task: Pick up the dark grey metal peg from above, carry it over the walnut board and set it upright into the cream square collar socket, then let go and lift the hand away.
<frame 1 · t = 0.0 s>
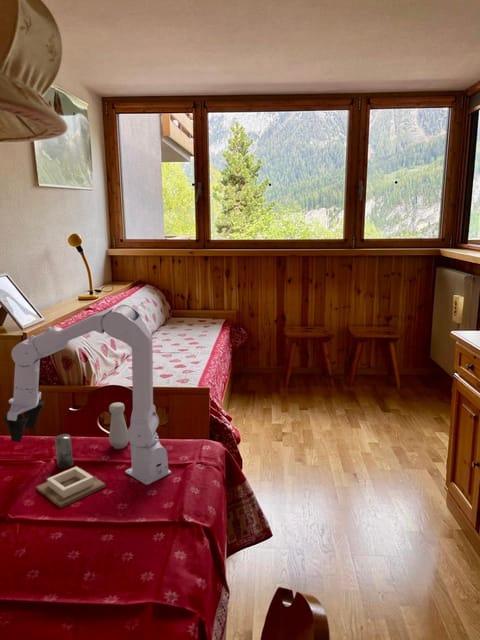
hand: (23, 434, 130), 11 cm above the table, tool pointing down, fingers open, 7 cm apart
peg: (65, 464, 136), on the table
salt shaker: (119, 446, 146), on the table
socket board: (71, 488, 124), on the table
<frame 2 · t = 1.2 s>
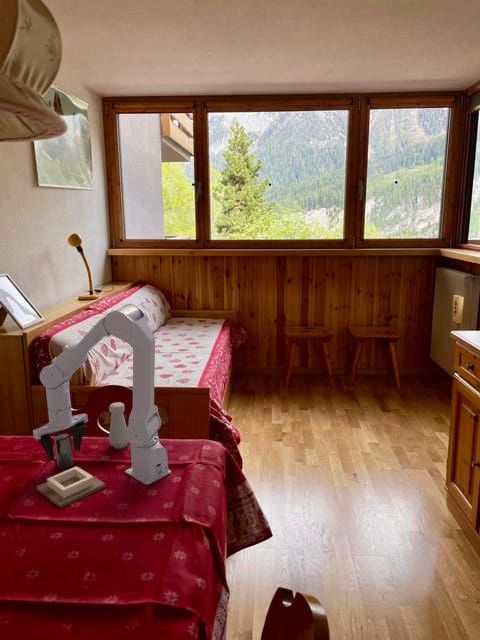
hand: (64, 454, 135), 3 cm above the table, tool pointing down, fingers open, 7 cm apart
nothing on the table moved.
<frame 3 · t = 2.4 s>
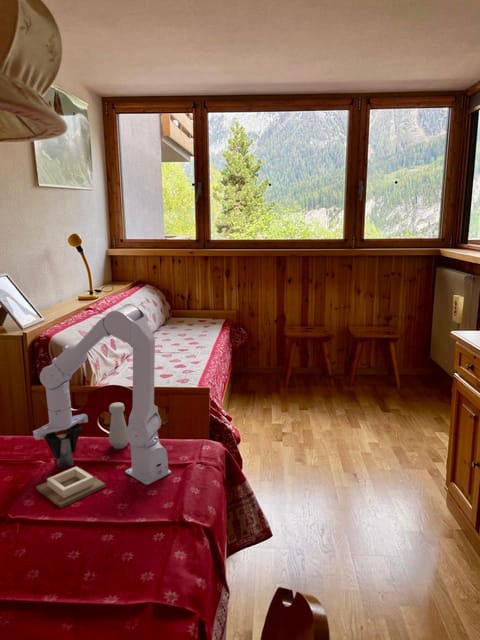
hand: (64, 454, 135), 3 cm above the table, tool pointing down, fingers closed on peg, 4 cm apart
peg: (65, 464, 136), on the table, touching gripper
everything else where it was.
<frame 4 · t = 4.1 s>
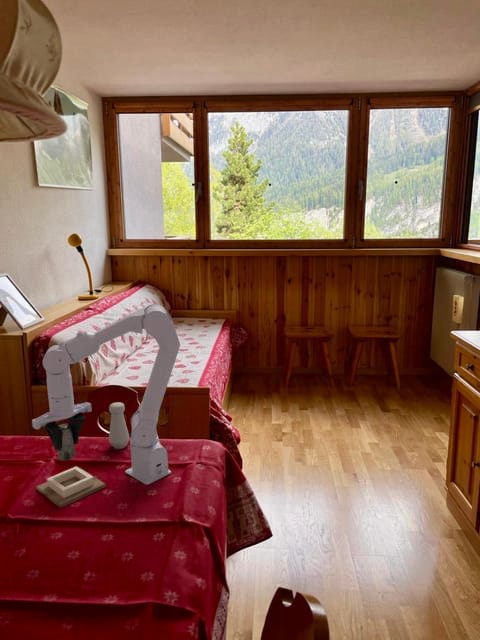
hand: (66, 446, 125), 10 cm above the table, tool pointing down, fingers closed on peg, 4 cm apart
peg: (66, 456, 126), point 7 cm above the table, touching gripper
everything else where it was.
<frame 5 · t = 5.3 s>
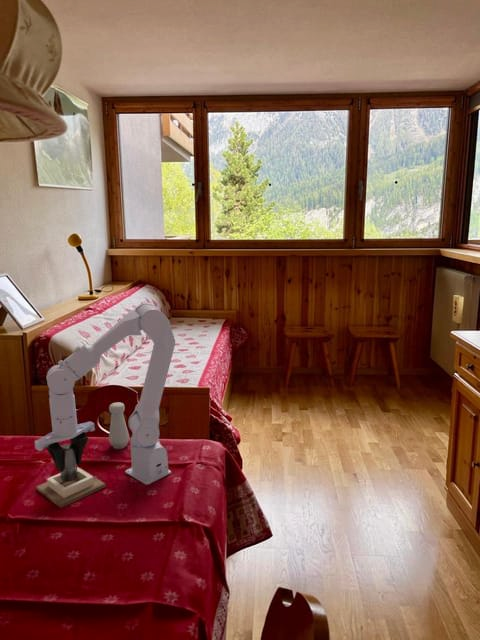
hand: (68, 466, 123), 6 cm above the table, tool pointing down, fingers closed on peg, 4 cm apart
peg: (69, 477, 124), point 3 cm above the table, touching gripper
everything else where it was.
when the fingers open (4 cm above the table, at t = 6.2 s): peg stays where it is, resting on socket board.
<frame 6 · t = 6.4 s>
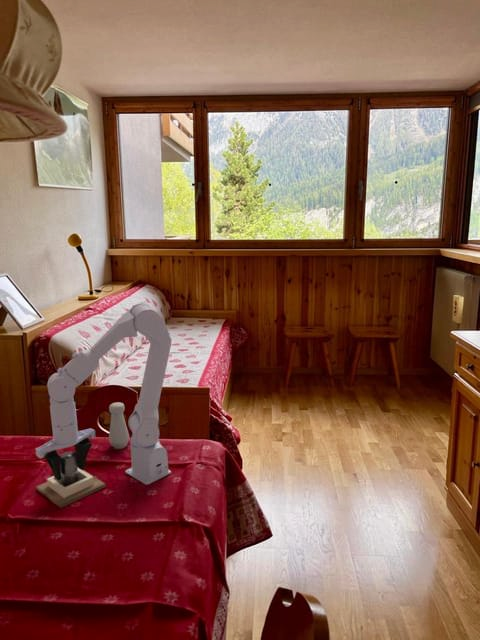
hand: (69, 473, 123), 4 cm above the table, tool pointing down, fingers open, 6 cm apart
peg: (70, 484, 124), point 1 cm above the table, touching socket board
everything else where it was.
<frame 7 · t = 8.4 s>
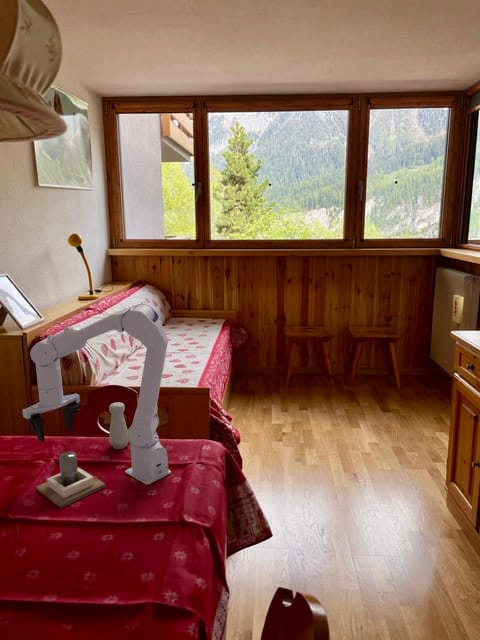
hand: (55, 435, 130), 10 cm above the table, tool pointing down, fingers open, 7 cm apart
nothing on the table moved.
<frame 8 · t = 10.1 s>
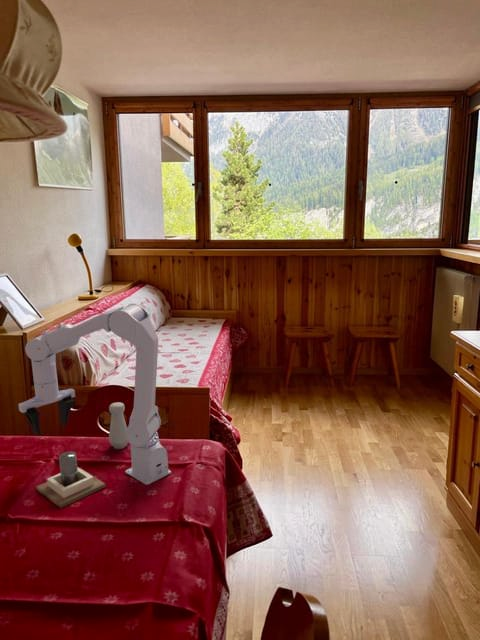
hand: (51, 429, 133), 10 cm above the table, tool pointing down, fingers open, 7 cm apart
nothing on the table moved.
at the end: peg 0.2 cm off-centre on the socket board, point 0.8 cm above the socket board's base; peg tilted 0°; the gripper is holding nothing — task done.
